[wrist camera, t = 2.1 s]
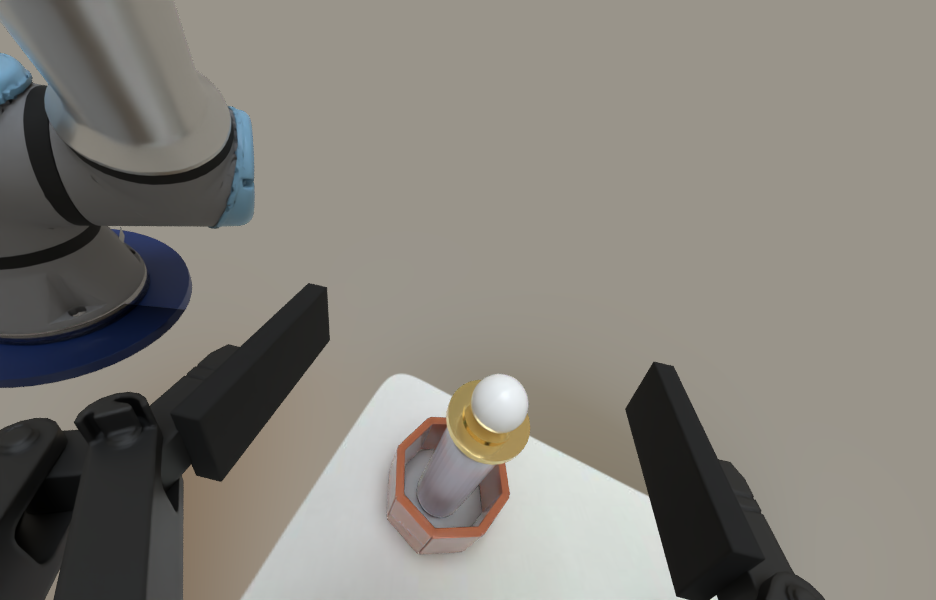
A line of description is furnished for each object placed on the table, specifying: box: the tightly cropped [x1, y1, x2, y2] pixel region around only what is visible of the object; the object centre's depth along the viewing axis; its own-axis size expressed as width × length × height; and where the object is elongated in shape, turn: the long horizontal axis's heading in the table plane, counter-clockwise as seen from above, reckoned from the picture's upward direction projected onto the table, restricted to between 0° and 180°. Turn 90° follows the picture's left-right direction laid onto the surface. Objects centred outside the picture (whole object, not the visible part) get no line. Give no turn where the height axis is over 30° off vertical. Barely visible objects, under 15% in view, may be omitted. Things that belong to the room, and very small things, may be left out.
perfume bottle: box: [417, 374, 530, 517], centre depth 29 cm, size 6×6×20 cm
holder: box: [387, 417, 510, 554], centre depth 33 cm, size 10×10×6 cm
